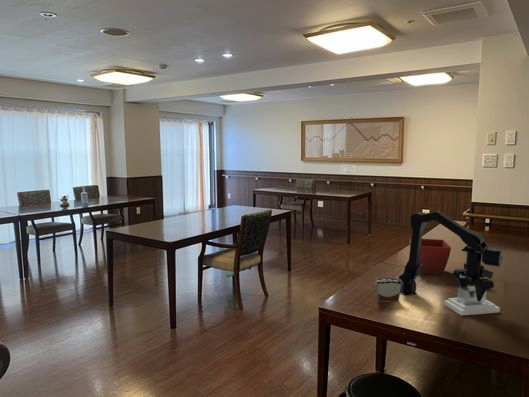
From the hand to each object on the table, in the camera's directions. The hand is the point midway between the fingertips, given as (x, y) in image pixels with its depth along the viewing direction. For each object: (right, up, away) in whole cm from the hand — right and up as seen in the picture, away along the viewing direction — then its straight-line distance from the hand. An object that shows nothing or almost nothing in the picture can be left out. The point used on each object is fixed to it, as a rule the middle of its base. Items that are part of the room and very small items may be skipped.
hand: (471, 297), depth 172 cm
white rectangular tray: (0, -5, +1) cm, 5 cm away
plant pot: (+3, +1, +53) cm, 54 cm away
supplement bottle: (+17, -1, +35) cm, 39 cm away
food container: (-33, -4, +12) cm, 36 cm away
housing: (0, -3, 0) cm, 3 cm away
